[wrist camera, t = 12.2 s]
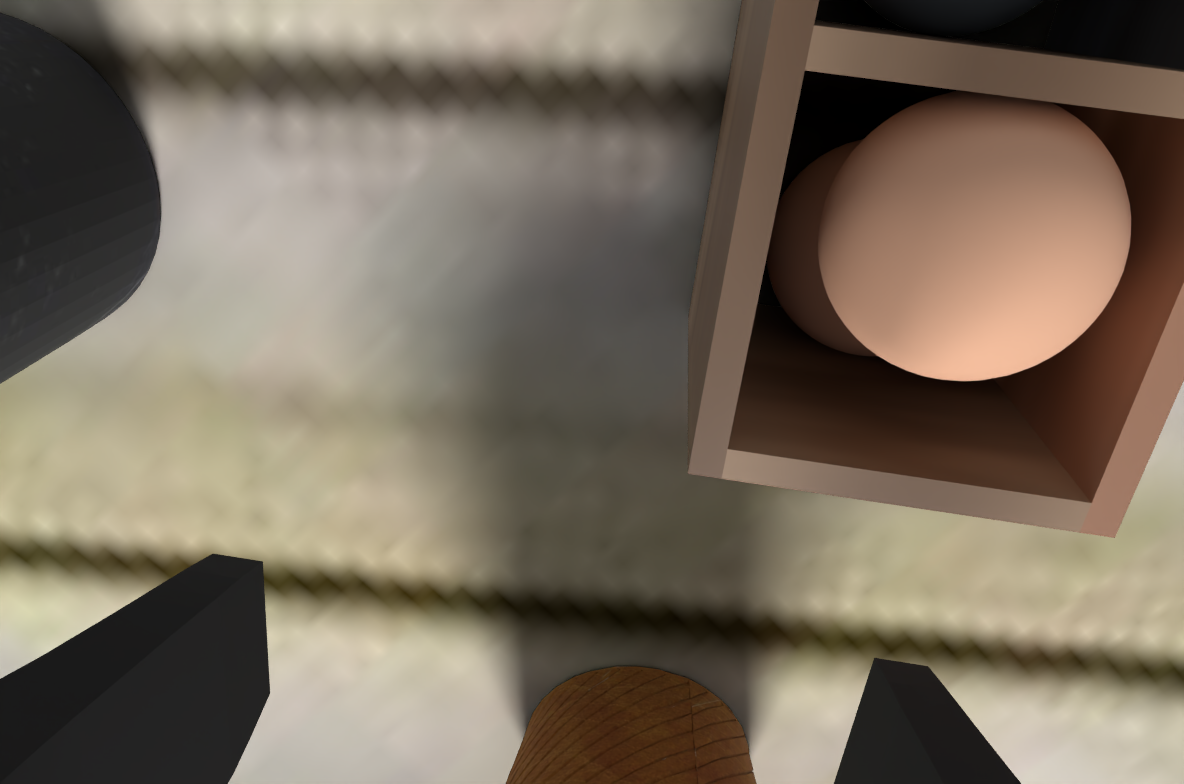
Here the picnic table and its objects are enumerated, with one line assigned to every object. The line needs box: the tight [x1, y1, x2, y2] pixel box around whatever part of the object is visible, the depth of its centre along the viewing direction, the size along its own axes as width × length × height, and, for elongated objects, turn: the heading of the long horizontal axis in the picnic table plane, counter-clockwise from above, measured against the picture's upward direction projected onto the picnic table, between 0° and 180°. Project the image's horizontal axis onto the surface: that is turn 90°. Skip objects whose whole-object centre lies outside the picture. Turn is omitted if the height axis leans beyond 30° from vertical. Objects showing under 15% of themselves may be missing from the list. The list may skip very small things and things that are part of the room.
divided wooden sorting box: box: [688, 0, 1184, 538], centre depth 13 cm, size 6×12×7 cm, turn 174°
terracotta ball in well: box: [766, 139, 877, 356], centre depth 16 cm, size 4×4×4 cm
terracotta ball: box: [818, 90, 1131, 381], centre depth 12 cm, size 4×4×4 cm
